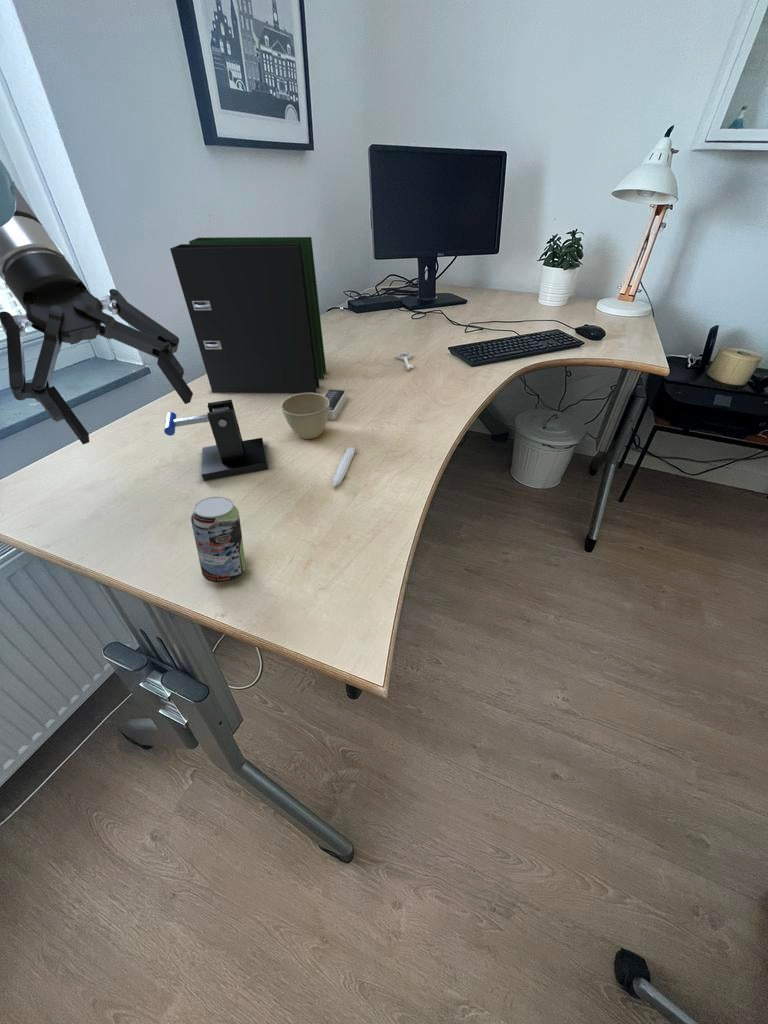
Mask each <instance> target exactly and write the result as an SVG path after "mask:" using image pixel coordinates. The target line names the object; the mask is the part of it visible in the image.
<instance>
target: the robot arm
mask: <svg viewBox="0 0 768 1024" xmlns="http://www.w3.org/2000/svg"><path fill="white" fill-rule="evenodd" d="M43 225H44V224H42V222H41V221H40V220H39V218H38V217H37V215H36V214H35V212H34V211H33V209H32V208H31V206H30V204H29V203H28V202H27V201H26V198H24V196H23V194H22V193H21V191H20V190H19V189H18V187H17V185H16V184H15V181H13V179H12V177H11V174H10V173H9V171H8V169H7V167H6V166H5V164H4V163H3V161H2V160H1V159H0V278H1V279H2V280H3V282H5V285H6V287H7V288H8V290H9V291H10V293H12V295H13V296H14V298H15V299H16V301H17V302H18V303H19V305H20V306H21V307H22V309H23V310H24V311H25V313H23V314H16V315H12V314H11V313H10V312H8V311H0V324H1V328H2V330H3V332H4V334H5V336H6V348H7V349H6V350H7V365H8V380H9V381H8V383H9V387H10V390H11V393H12V395H13V398H14V399H15V400H17V401H25V400H26V399H34V400H36V402H38V403H40V404H41V406H42V408H44V410H45V411H46V413H47V415H49V416H50V418H51V419H52V420H53V421H54V422H56V423H58V422H61V421H63V420H64V421H65V422H66V423H67V425H68V426H69V428H70V429H71V431H72V432H73V433H74V435H75V436H76V437H77V439H78V440H79V441H80V443H81V445H85V444H88V443H90V435H89V433H90V432H88V430H87V429H86V427H85V426H84V425H83V423H81V421H80V419H79V418H78V417H77V416H76V413H74V412H73V410H72V408H71V407H70V406H69V405H68V403H67V401H66V399H64V397H63V396H62V395H61V394H60V392H59V391H58V389H57V388H56V386H55V385H53V386H51V383H52V379H53V376H54V371H55V367H56V363H57V359H58V356H59V354H60V352H61V348H62V344H63V343H65V344H70V346H73V345H76V344H78V343H81V342H82V341H91V340H95V339H97V336H100V337H103V338H105V339H107V340H114V341H117V342H120V343H121V344H124V345H126V346H128V347H131V348H133V349H135V350H138V351H140V352H142V353H145V354H147V355H150V356H151V357H154V358H156V359H157V363H156V365H157V367H158V368H159V370H161V372H162V373H163V375H164V376H165V377H166V379H167V380H168V382H169V383H170V385H171V386H172V388H173V389H174V391H175V392H176V394H177V395H178V396H179V398H180V399H181V401H182V402H183V403H184V405H188V404H190V403H191V401H192V398H193V395H194V393H193V391H192V390H191V388H190V387H189V385H188V384H187V382H186V381H185V380H184V378H183V377H184V374H185V370H184V367H183V366H182V365H181V363H180V362H179V360H178V359H177V357H176V356H175V355H174V354H175V353H177V351H178V348H179V344H180V338H179V337H178V336H177V335H176V334H174V333H173V332H171V330H168V329H167V328H165V326H163V325H161V324H160V323H158V322H157V321H156V320H154V319H153V318H151V317H150V316H148V315H147V314H145V312H142V311H141V310H140V309H139V308H137V307H135V306H134V305H132V304H131V303H130V302H128V301H127V299H126V298H125V297H124V296H123V295H122V294H121V292H120V291H119V290H118V289H115V288H111V289H109V290H108V295H105V296H102V297H99V298H97V297H96V296H95V295H93V294H92V293H91V292H90V291H89V289H88V287H87V286H86V285H85V283H84V281H82V279H81V277H80V275H79V274H78V273H77V272H76V271H75V269H74V268H73V266H72V265H71V264H70V262H69V261H68V260H67V258H66V256H65V255H64V253H63V251H61V249H60V248H59V246H58V245H57V243H56V242H55V240H54V239H53V238H52V237H51V234H49V232H48V231H47V230H46V228H45V227H44V226H43ZM104 310H107V311H109V312H111V314H112V315H114V316H115V315H117V316H118V317H119V318H120V319H121V320H123V321H124V322H125V323H127V324H128V325H127V324H125V323H122V322H120V321H118V320H116V319H115V318H114V317H113V316H112V315H110V314H107V313H105V312H104ZM129 325H130V326H129ZM29 327H31V328H32V329H34V330H36V331H38V332H39V333H43V339H42V343H41V347H40V351H39V354H38V358H37V362H36V366H35V369H34V372H33V376H32V380H31V382H27V379H26V363H25V349H24V343H23V339H22V338H24V337H25V336H26V335H28V334H27V333H28V328H29Z"/></svg>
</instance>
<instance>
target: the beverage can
mask: <svg viewBox="0 0 768 1024" xmlns="http://www.w3.org/2000/svg"><path fill="white" fill-rule="evenodd" d="M190 522H191V528H192V531H193V537H194V541H195V542H194V543H195V546H196V552H197V555H198V556H197V557H198V561H199V566H200V571H201V574H202V576H203V579H205V580H207V581H209V582H212V583H221V584H222V583H228V582H231V581H233V580H234V581H235V580H236V579H237V578H239V577H240V576H242V574H243V573H244V572H245V570H246V567H247V563H246V557H245V548H244V542H243V541H244V540H243V533H242V526H241V519H240V511H239V509H238V508H237V506H236V505H235V504H234V503H233V500H231V499H230V498H227V497H224V496H210V497H206V498H202V499H201V500H199V501H197V502H196V503H195V504H194V506H193V511H192V513H191V515H190Z"/></svg>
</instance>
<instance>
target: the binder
mask: <svg viewBox="0 0 768 1024" xmlns="http://www.w3.org/2000/svg"><path fill="white" fill-rule="evenodd" d="M313 249H314V248H313V239H312V236H268V237H267V236H264V237H263V236H260V237H258V236H253V237H251V236H250V237H249V236H248V237H245V236H243V237H240V236H239V237H238V236H237V237H235V236H233V237H227V236H226V237H225V236H224V237H220V236H219V237H196V238H194V239H192V240H189V241H188V243H180V244H178V245H176V246H173V247H170V248H169V250H170V253H171V256H172V260H173V264H174V268H175V270H176V275H177V277H178V281H179V284H180V289H181V291H182V294H183V298H184V301H185V304H186V308H187V311H188V315H189V318H190V322H191V325H192V328H193V331H194V335H195V339H196V342H197V346H198V348H199V351H200V356H201V358H202V362H203V366H204V369H205V372H206V376H207V379H208V382H209V386H210V389H211V392H212V393H233V394H235V393H239V394H242V393H243V394H247V393H248V394H300V393H317V394H318V392H317V389H320V380H324V379H325V377H324V375H326V374H327V367H326V358H325V357H326V356H325V349H324V347H325V346H324V339H323V330H322V321H321V312H320V304H319V303H320V301H319V294H318V287H317V286H318V284H317V276H316V268H315V266H316V265H315V258H314V257H315V256H314V250H313Z"/></svg>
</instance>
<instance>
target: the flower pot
mask: <svg viewBox="0 0 768 1024" xmlns="http://www.w3.org/2000/svg"><path fill="white" fill-rule="evenodd" d="M280 409H281V412H282V415H283V417H284V419H285V420H286V422H287V424H288V425H289V427H290V428H291V430H292V431H293V432H294V433H295V434H296V435H297V436H298V437H299V438H300V439H303V440H313V439H316V438H318V437H319V436H321V434H322V432H323V431H324V429H325V427H326V424H327V422H328V420H327V418H328V414H329V399H328V398H327V397H325V394H321V393H318V392H317V393H295V394H293V395H291V396H288V397H286V398H285V399H283V400H282V402H281V404H280Z"/></svg>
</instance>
